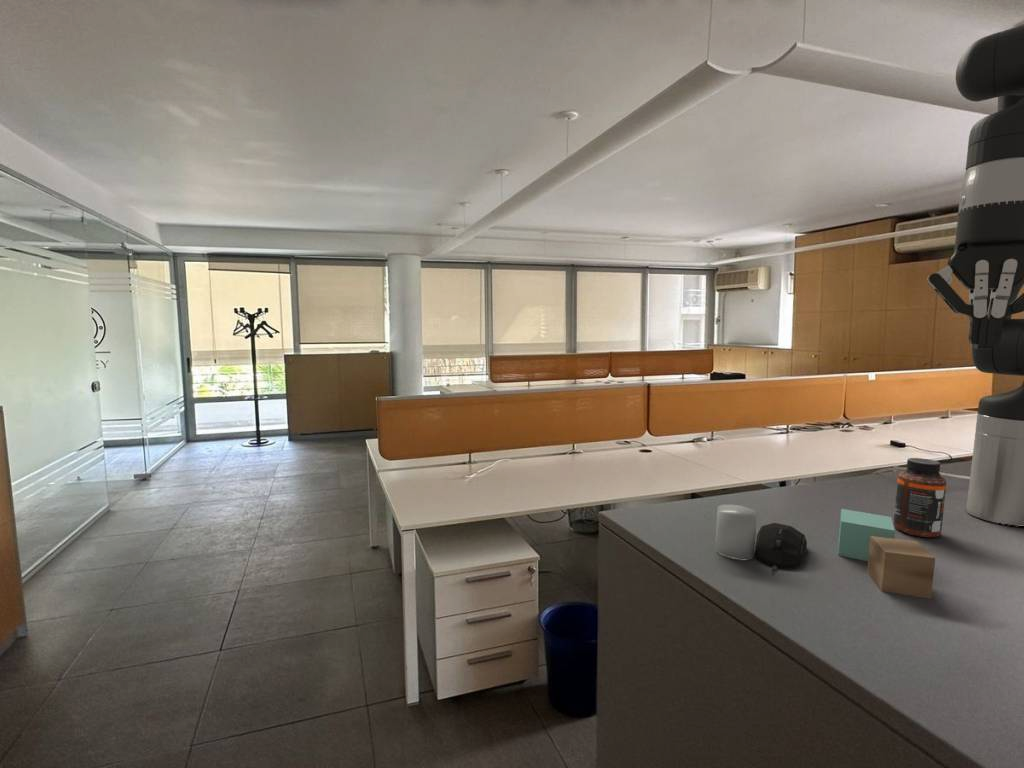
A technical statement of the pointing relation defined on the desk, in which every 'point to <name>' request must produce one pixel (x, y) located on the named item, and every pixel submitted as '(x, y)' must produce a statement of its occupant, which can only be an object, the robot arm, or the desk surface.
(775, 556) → the gaming mouse
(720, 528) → the grey cylinder
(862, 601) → the desk surface
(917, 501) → the supplement bottle
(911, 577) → the walnut block
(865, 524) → the teal block
